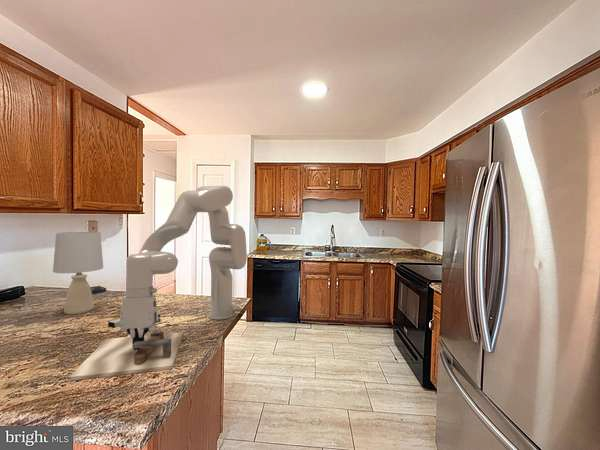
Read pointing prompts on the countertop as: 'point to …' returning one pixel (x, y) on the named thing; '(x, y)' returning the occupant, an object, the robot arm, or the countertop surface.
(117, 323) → the toy gun
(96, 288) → the disk drive
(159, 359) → the hinge board
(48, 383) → the countertop surface
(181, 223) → the robot arm
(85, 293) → the lamp
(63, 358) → the countertop surface
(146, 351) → the walnut link
